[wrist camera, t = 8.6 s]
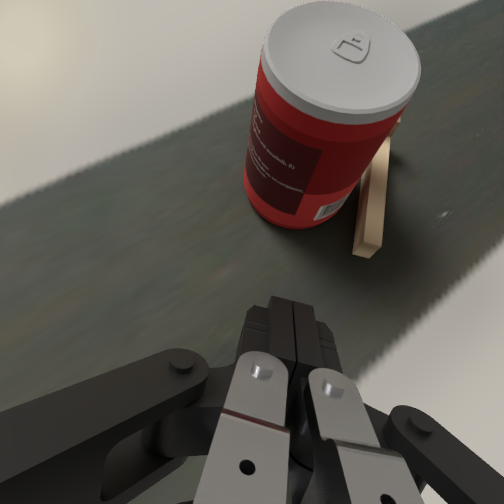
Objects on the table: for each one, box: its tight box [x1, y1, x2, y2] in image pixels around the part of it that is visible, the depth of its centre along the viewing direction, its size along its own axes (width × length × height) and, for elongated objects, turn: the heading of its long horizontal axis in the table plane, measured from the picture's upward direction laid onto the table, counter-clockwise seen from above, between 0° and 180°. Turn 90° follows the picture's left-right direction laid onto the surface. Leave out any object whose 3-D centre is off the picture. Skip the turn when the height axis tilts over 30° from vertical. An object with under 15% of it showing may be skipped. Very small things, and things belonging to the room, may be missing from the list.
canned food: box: [244, 1, 421, 229], centre depth 22 cm, size 8×8×11 cm
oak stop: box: [352, 116, 401, 258], centre depth 25 cm, size 11×7×4 cm, turn 167°
